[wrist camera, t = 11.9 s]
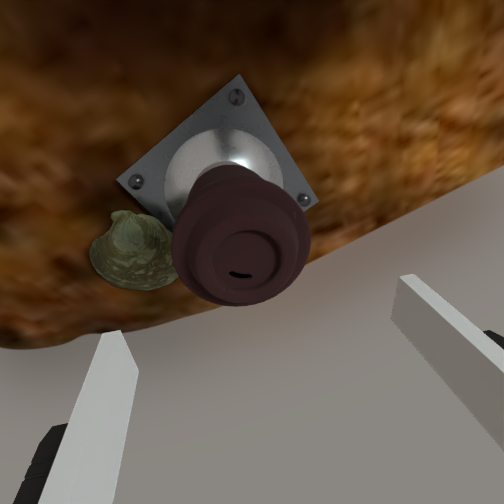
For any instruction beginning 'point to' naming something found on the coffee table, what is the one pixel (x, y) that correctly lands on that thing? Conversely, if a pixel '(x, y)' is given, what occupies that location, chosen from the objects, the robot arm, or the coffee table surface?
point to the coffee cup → (238, 237)
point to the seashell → (134, 252)
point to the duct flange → (213, 154)
